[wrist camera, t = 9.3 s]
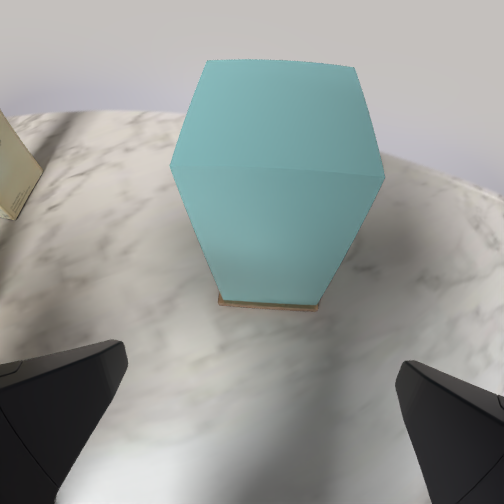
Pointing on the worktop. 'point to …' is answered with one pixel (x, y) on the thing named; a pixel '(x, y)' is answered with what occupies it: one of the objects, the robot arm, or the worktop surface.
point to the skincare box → (15, 171)
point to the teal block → (276, 175)
